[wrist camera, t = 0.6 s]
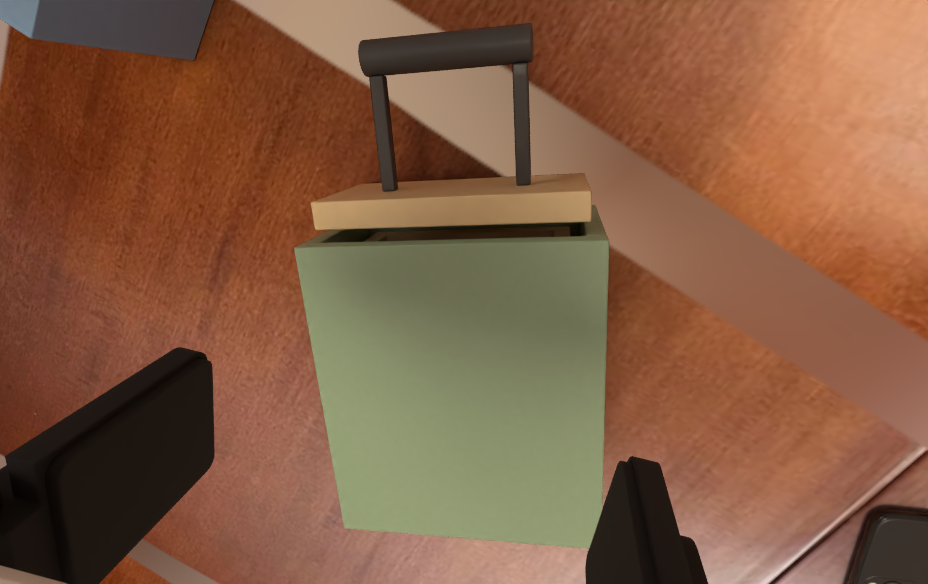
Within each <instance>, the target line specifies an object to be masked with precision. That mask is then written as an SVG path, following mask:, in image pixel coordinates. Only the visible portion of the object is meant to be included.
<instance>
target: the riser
mask: <svg viewBox="0 0 928 584" xmlns="http://www.w3.org/2000/svg"><path fill="white" fill-rule="evenodd" d="M213 2H214V0H0V19H1V20H2V21H4V22H5V23H7V24H9V25H10V26H12V27H13V28H15V29H16V30H18V31H20V32H21V33H23V34H24V35H26V36H28V37H29V38H31V39H38V40H45V41H52V42H60V43H67V44H74V45H82V46H89V47H97V48H104V49H111V50H119V51H126V52H133V53H141V54H148V55H155V56H163V57H170V58H177V59H185V60H192V61H194V59H195V56H196V53H197V50H198V47H199V44H200V41H201V38H202V35H203V32H204V29H205V26H206V23H207V20H208V17H209V14H210V11H211V8H212V5H213Z"/></svg>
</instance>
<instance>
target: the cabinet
mask: <svg viewBox="0 0 928 584" xmlns="http://www.w3.org/2000/svg"><path fill="white" fill-rule="evenodd" d="M565 226H569V227H570V235H571V236H570V237H531V238H492V239H453V240H414V241H375V242H364V241H365V240H367V239H368V238H370V237H371V236H373V235H374V234H375V233H377V232H394V231H428V230H463V229H497V228H531V227H565ZM294 250H295V256H296V262H297V267H298V273H299V278H300V284H301V289H302V295H303V301H304V306H305V312H306V317H307V323H308V329H309V334H310V340H311V345H312V351H313V356H314V362H315V368H316V373H317V379H318V384H319V390H320V396H321V401H322V407H323V412H324V418H325V423H326V429H327V435H328V440H329V446H330V451H331V457H332V463H333V468H334V474H335V479H336V485H337V490H338V496H339V502H340V507H341V513H342V518H343V524H344V528H348V529H360V530H372V531H384V532H395V533H407V534H419V535H431V536H443V537H455V538H467V539H478V540H490V541H502V542H514V543H526V544H538V545H549V546H561V547H573V548H585V549H589V548H590V545H591V542H592V539H593V536H594V533H595V530H596V527H597V524H598V521H599V518H600V515H601V512H602V503H603V464H604V425H605V386H606V347H607V309H608V270H609V239H608V237H607V235H606V232H605V230H604V227H603V224H602V222H601V219H600V217H599V214H598V211H597V208H596V206H595V205H591V221H590V222H570V223H537V224H504V225H472V226H439V227H406V228H374V229H341V230H328V231H326V232H324V233H322V234H320V235H318V236H317V237H315V238H313V239H311V240H309V241H307V242H305V243H303V244H301V245H299V246H297V247H295V248H294Z"/></svg>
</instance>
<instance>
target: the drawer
mask: <svg viewBox="0 0 928 584" xmlns="http://www.w3.org/2000/svg"><path fill="white" fill-rule="evenodd" d="M358 53H359V62H360V66H361V69H362V71H363V73H364V75H365V76H367V77H369V80H370V89H371V97H372V106H373V114H374V123H375V132H376V140H377V149H378V157H379V166H380V174H381V183H369V184H359V185H357V186H354V187H351V188H349V189H346V190H343V191H340V192H338V193H335V194H332V195H330V196H327V197H324V198H322V199H319V200H316V201H314V202H311V207H312V213H313V220H314V226H315V230H341V229H374V228H406V227H439V226H472V225H504V224H537V223H570V222H590V221H591V203H592V202H591V200H592V192H591V189H590V187H589V184H588V182H587V179H586V177H585V174H584V173H578V174H557V175H536V176H531V162H530V161H531V160H530V118H529V76H528V64H527V63H531V62H533V28H532V24H531V23H526V24H517V25H507V26H497V27H488V28H478V29H468V30H458V31H449V32H439V33H429V34H420V35H411V36H400V37H390V38H382V39H381V38H380V39H371V40H362V41H361V42H360V44H359V50H358ZM508 64H513V65H512V68H513V98H514V127H515V156H516V158H515V159H516V176H515V177H494V178H473V179H452V180H431V181H411V182H398V181H397V172H396V163H395V153H394V144H393V135H392V125H391V116H390V107H389V97H388V88H387V79H386V76H384V75H395V74H407V73H418V72H429V71H440V70H451V69H463V68H474V67H485V66H497V65H508ZM570 236H571V235H570V227H569V226H565V227H531V228H497V229H463V230H428V231H394V232H377V233H375V234H374V235H373V236H371V237H370V238H368V239H367V240H365V241H364V242H375V241H414V240H453V239H492V238H531V237H570Z"/></svg>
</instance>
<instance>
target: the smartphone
mask: <svg viewBox="0 0 928 584" xmlns="http://www.w3.org/2000/svg"><path fill="white" fill-rule="evenodd" d="M847 584H928V513H922V512H913V511H904V510H895V509H884V510H880V511H877V512H875V513H874V514H873V515H872V516H871V517H870V518H869V520H868V522H867V525H866V528H865V531H864V534H863V537H862V540H861V543H860V546H859V549H858V552H857V555H856V558H855V561H854V564H853V567H852V570H851V573H850V576H849V579H848V582H847Z"/></svg>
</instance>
